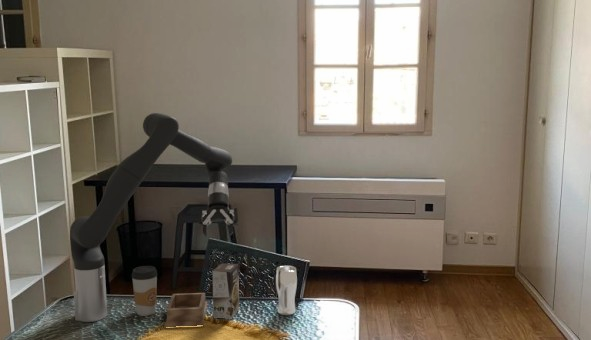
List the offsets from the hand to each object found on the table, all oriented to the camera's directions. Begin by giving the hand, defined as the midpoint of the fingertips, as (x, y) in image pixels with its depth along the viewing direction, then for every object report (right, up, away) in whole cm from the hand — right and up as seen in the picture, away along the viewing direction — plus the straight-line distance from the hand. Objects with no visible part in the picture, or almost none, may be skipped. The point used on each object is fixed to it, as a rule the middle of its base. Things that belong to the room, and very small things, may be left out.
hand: (218, 235), depth 194 cm
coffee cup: (-23, -25, -9) cm, 35 cm away
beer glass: (+24, -25, -9) cm, 36 cm away
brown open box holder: (-9, -25, -12) cm, 29 cm away
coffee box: (+4, -25, -11) cm, 28 cm away
